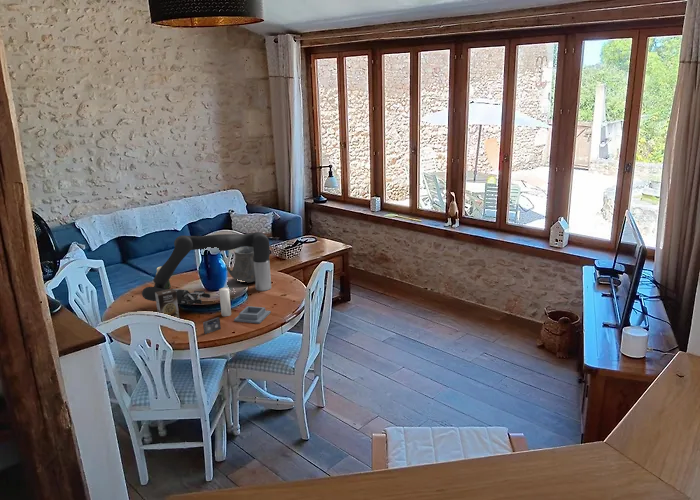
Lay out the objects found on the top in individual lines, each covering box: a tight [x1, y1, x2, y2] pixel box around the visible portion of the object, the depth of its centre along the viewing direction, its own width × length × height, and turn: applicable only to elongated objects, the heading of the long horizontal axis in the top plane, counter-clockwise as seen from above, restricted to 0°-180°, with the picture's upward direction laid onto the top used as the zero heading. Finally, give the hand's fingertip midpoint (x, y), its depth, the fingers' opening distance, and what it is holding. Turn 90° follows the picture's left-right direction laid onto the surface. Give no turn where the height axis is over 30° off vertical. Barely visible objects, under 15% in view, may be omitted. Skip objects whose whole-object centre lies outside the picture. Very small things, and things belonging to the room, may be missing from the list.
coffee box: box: [155, 288, 180, 319], centre depth 276 cm, size 9×6×16 cm
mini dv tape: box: [202, 317, 222, 335], centre depth 265 cm, size 8×2×6 cm, turn 133°
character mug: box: [155, 265, 172, 289], centre depth 323 cm, size 11×7×13 cm, turn 149°
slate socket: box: [233, 305, 272, 324], centre depth 280 cm, size 14×14×4 cm
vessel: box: [226, 246, 255, 284], centre depth 333 cm, size 22×22×20 cm
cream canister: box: [218, 287, 232, 317], centre depth 283 cm, size 5×5×14 cm
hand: (205, 298), depth 285 cm, fingers open, 8 cm apart
